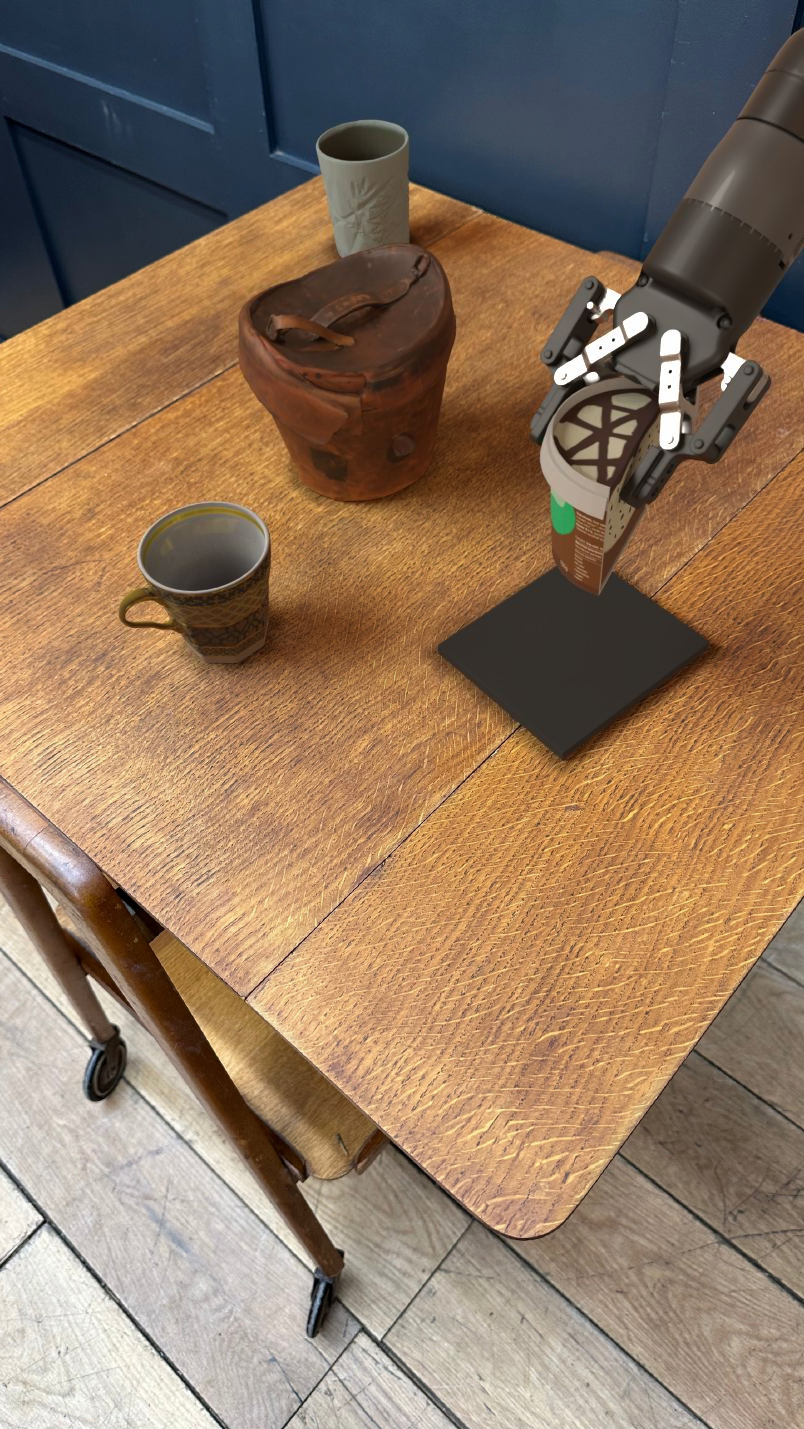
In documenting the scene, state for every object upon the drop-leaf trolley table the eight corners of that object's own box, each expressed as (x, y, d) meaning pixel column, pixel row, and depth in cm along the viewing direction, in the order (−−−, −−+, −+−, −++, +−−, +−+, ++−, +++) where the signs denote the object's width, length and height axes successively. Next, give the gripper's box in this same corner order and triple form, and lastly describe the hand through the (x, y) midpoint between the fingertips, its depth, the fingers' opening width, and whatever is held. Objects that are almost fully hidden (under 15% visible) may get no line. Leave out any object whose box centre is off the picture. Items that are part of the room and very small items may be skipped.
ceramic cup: (242, 573, 89) (219, 482, 81) (313, 635, 84) (296, 545, 76) (114, 652, 84) (76, 564, 76) (182, 723, 79) (150, 637, 71)
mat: (580, 557, 88) (581, 549, 87) (708, 649, 81) (710, 641, 80) (437, 652, 82) (437, 644, 81) (562, 760, 75) (563, 752, 75)
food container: (574, 472, 76) (586, 352, 68) (654, 495, 74) (676, 375, 66) (504, 582, 69) (509, 464, 61) (590, 611, 67) (606, 493, 59)
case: (225, 504, 94) (181, 329, 80) (325, 381, 105) (302, 207, 91) (400, 555, 89) (387, 376, 75) (487, 420, 100) (490, 241, 86)
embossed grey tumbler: (419, 263, 118) (415, 155, 108) (332, 274, 118) (319, 166, 108) (407, 220, 124) (401, 113, 115) (324, 230, 124) (311, 124, 114)
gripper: (621, 158, 61) (476, 407, 66) (824, 247, 54) (644, 518, 59) (668, 214, 67) (531, 438, 72) (856, 301, 60) (690, 541, 65)
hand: (582, 473), depth 66 cm, fingers closed on food container, 7 cm apart
